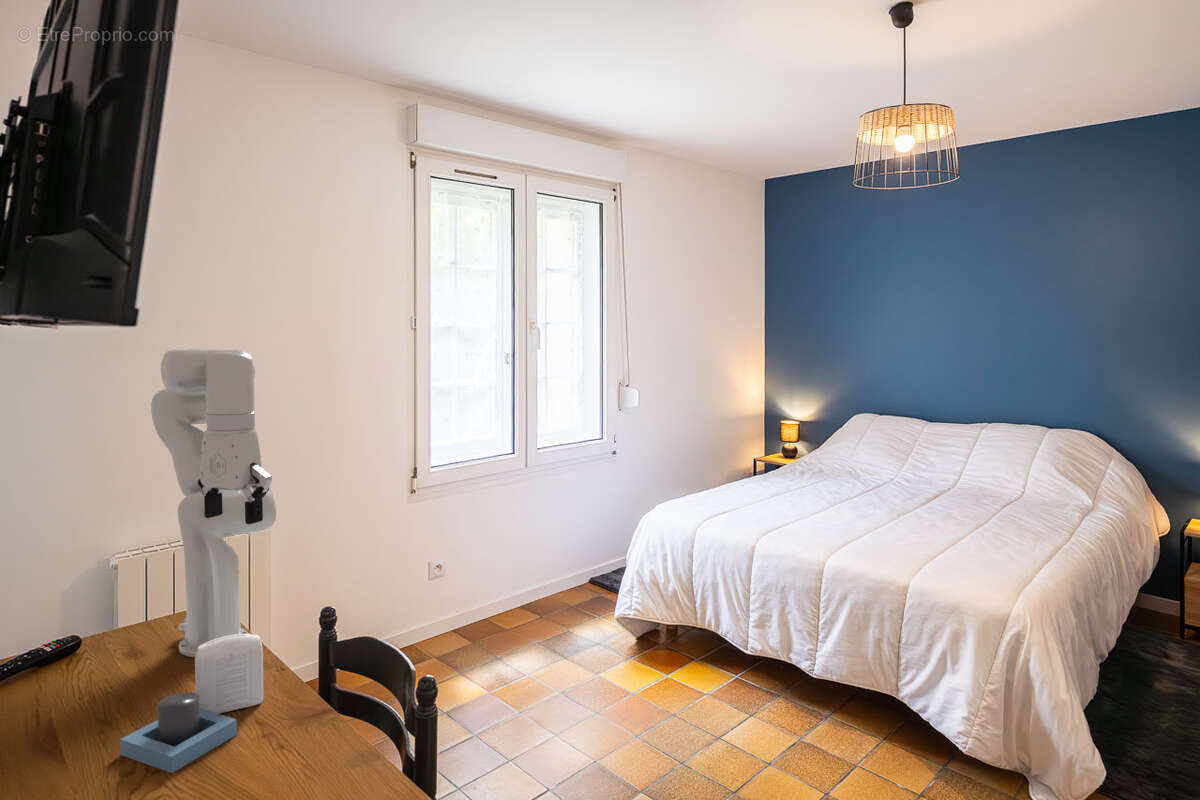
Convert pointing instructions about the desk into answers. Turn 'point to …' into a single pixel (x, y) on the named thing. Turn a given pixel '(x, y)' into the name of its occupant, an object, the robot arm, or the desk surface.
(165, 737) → the dark grey cylinder
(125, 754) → the collar
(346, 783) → the desk surface
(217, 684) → the photo printer
